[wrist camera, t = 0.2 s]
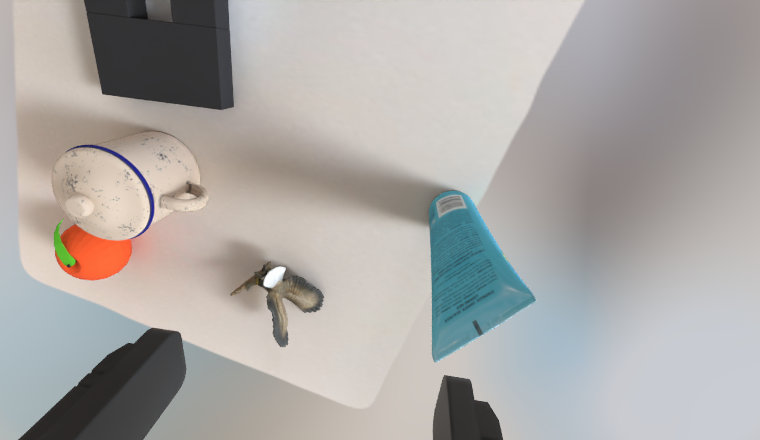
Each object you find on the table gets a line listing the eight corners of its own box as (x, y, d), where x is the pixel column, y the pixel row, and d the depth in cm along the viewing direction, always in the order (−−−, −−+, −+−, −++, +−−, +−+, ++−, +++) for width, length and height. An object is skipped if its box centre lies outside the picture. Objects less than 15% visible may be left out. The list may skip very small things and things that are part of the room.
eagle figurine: (236, 291, 45) (284, 344, 45) (223, 297, 38) (281, 359, 38) (284, 250, 47) (330, 301, 47) (280, 248, 40) (335, 308, 40)
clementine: (74, 211, 44) (14, 237, 37) (118, 195, 42) (64, 220, 36) (113, 266, 47) (63, 299, 40) (156, 253, 45) (112, 285, 39)
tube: (443, 246, 41) (462, 385, 23) (412, 219, 40) (407, 342, 22) (494, 201, 38) (558, 320, 21) (461, 171, 37) (500, 269, 20)
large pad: (101, -22, 33) (78, -28, 31) (227, -7, 33) (213, -12, 30) (121, 92, 37) (102, 94, 35) (233, 107, 37) (221, 110, 35)
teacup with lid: (127, 195, 42) (29, 240, 32) (122, 118, 38) (10, 140, 28) (226, 222, 42) (162, 276, 32) (232, 147, 39) (161, 180, 28)
